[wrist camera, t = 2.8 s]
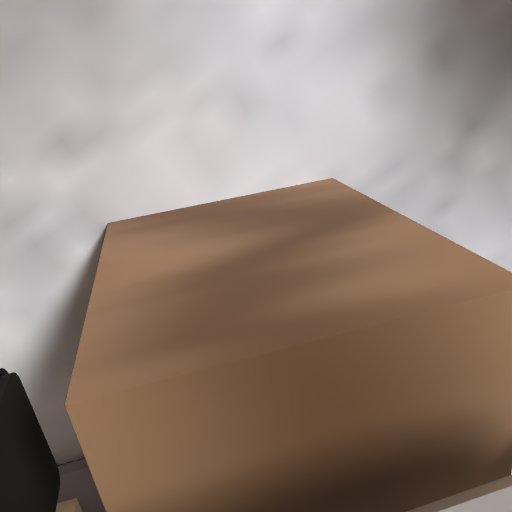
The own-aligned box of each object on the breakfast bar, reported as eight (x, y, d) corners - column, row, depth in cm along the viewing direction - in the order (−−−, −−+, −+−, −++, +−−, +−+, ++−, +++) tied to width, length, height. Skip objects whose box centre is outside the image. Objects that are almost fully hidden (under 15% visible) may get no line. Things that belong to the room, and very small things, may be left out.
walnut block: (331, 177, 12) (532, 284, 6) (345, 358, 15) (499, 572, 8) (108, 222, 11) (65, 405, 5) (160, 408, 14) (176, 692, 7)
